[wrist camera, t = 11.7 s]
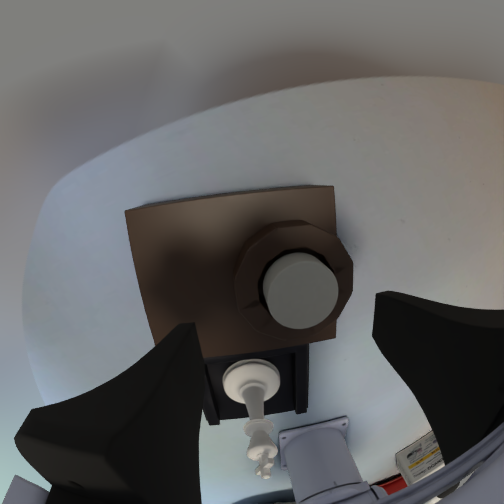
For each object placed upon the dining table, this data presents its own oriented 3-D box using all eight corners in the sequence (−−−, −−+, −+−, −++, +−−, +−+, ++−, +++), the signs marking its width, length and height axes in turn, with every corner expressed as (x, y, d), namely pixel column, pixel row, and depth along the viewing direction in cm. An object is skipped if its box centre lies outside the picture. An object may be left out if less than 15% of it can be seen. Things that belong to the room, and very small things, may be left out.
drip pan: (306, 402, 24) (311, 418, 22) (206, 415, 23) (206, 432, 21) (306, 319, 21) (314, 333, 19) (183, 334, 21) (179, 350, 19)
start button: (327, 308, 15) (338, 322, 13) (265, 318, 15) (270, 334, 13) (326, 248, 14) (339, 256, 13) (259, 256, 14) (264, 266, 12)
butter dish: (413, 466, 34) (429, 493, 25) (394, 489, 36) (406, 513, 28) (365, 485, 33) (379, 516, 24) (350, 505, 35) (360, 531, 27)
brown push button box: (320, 311, 21) (349, 351, 16) (170, 330, 21) (154, 376, 15) (315, 184, 19) (351, 186, 13) (144, 204, 18) (111, 214, 12)
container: (433, 429, 30) (468, 477, 17) (431, 445, 32) (460, 488, 19) (395, 453, 30) (425, 507, 18) (396, 467, 32) (422, 513, 20)
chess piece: (290, 367, 22) (322, 460, 12) (263, 404, 22) (281, 493, 13) (236, 350, 21) (245, 453, 11) (214, 391, 22) (213, 486, 12)
